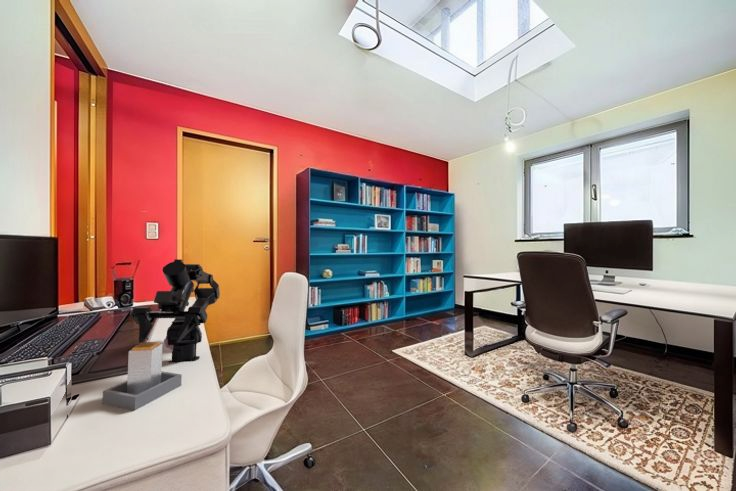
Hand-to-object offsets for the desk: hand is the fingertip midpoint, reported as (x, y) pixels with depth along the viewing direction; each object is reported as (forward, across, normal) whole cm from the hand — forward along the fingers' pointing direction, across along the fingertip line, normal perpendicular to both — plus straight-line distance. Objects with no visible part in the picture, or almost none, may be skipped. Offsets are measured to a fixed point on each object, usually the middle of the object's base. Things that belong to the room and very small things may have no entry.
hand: (159, 342), depth 76 cm
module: (+12, 0, +4) cm, 13 cm away
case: (+13, 0, +4) cm, 14 cm away
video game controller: (-13, -9, +30) cm, 34 cm away
